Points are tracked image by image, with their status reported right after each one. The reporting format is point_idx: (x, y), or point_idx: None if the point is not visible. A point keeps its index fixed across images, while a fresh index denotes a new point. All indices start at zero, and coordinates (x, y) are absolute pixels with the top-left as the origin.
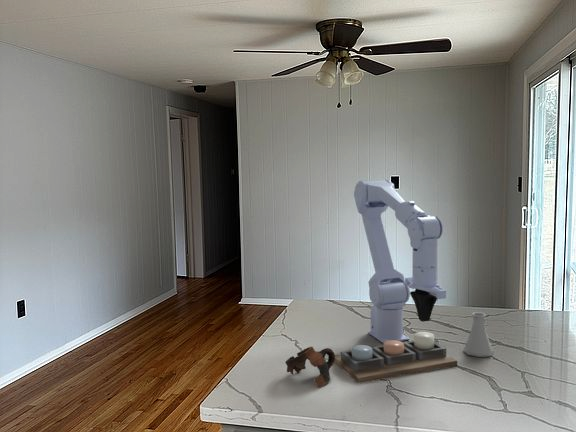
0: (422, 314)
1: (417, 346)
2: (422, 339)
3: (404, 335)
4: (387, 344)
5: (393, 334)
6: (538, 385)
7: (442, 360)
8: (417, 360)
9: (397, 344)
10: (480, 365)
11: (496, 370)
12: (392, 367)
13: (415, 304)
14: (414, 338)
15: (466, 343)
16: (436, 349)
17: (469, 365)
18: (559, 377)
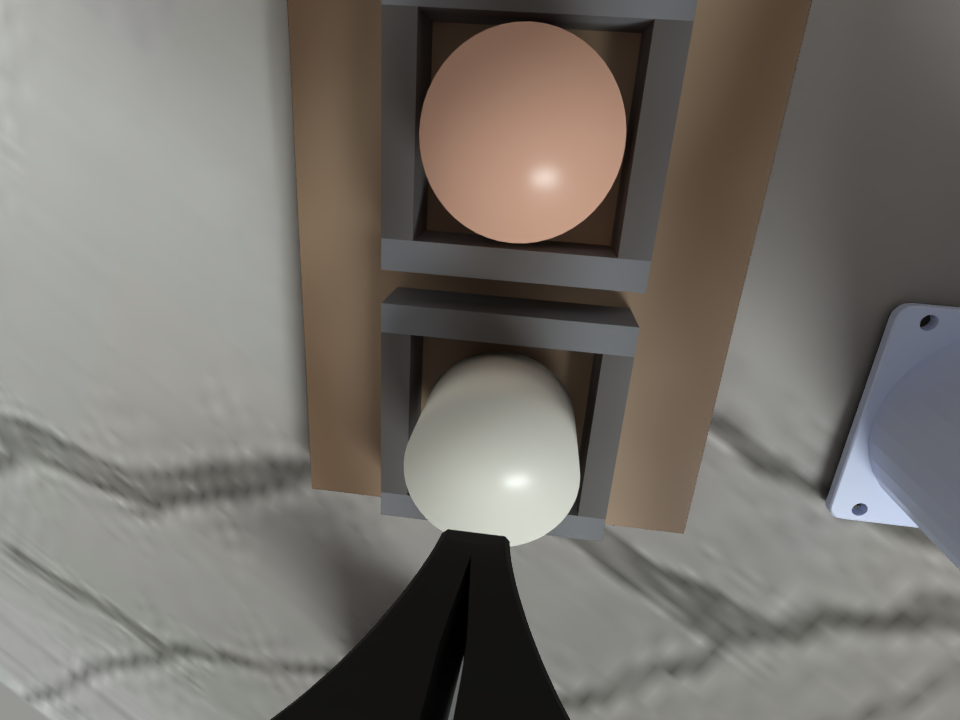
0: (412, 589)
1: (482, 362)
2: (430, 408)
3: (897, 519)
4: (534, 62)
5: (910, 419)
6: (24, 599)
7: (344, 419)
8: (408, 278)
9: (485, 162)
10: (285, 565)
11: (208, 580)
12: (362, 4)
13: (537, 683)
14: (526, 389)
15: (460, 675)
16: (387, 448)
17: (304, 523)
18: (82, 709)
